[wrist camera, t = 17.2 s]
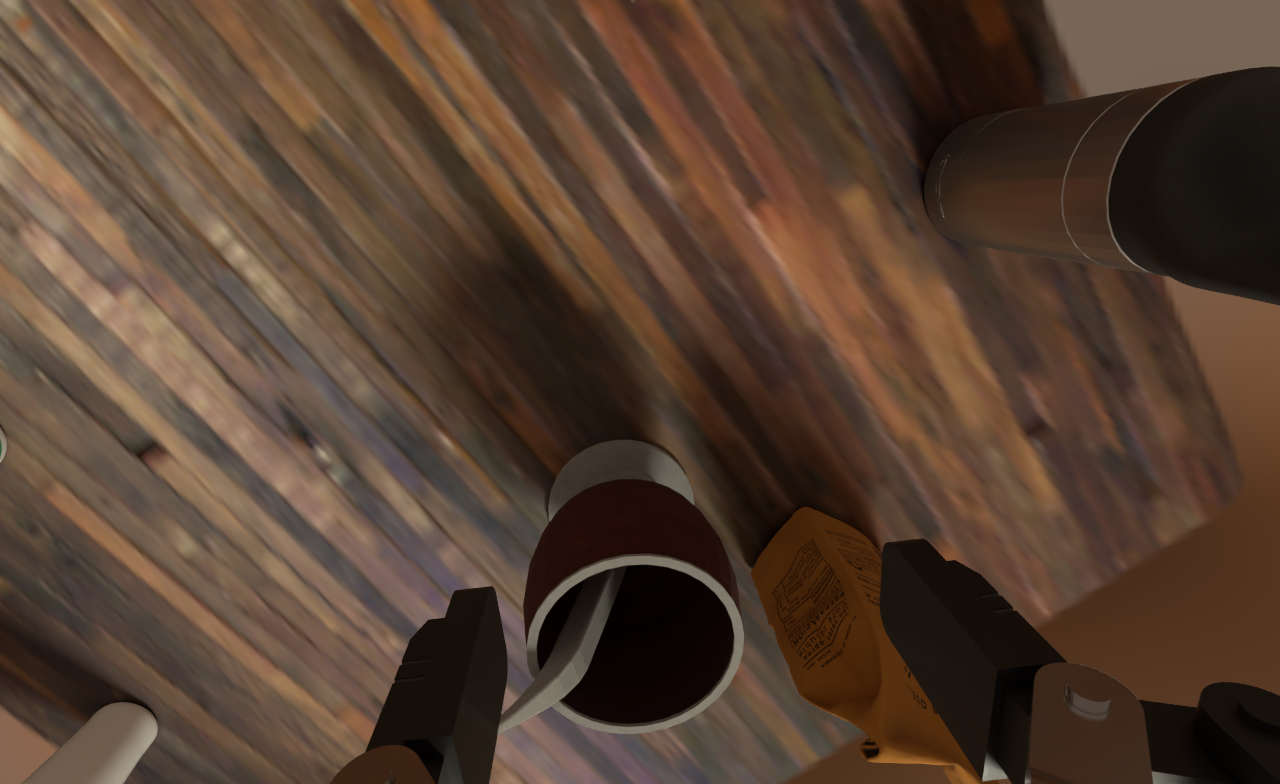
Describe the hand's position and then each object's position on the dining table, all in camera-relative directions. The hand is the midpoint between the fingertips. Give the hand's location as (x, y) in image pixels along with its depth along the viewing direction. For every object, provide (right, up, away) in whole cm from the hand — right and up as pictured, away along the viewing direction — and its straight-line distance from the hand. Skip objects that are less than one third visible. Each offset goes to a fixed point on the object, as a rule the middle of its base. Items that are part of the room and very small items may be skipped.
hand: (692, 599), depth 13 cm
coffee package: (+15, -11, +43) cm, 47 cm away
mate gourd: (-3, -6, +40) cm, 40 cm away
